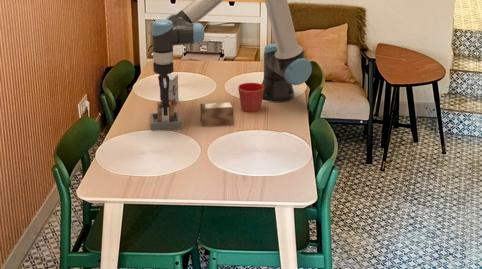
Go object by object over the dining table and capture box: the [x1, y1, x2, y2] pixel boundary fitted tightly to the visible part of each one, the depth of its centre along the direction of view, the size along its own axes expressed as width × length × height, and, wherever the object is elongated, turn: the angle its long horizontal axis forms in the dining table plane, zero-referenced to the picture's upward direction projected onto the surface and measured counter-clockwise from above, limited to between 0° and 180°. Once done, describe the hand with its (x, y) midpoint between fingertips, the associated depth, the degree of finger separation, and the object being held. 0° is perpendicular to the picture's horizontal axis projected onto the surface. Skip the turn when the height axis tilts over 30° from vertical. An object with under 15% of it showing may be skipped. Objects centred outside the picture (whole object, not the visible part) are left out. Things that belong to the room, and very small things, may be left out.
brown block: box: [156, 101, 175, 122], centre depth 264 cm, size 6×5×7 cm
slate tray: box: [149, 111, 182, 131], centre depth 266 cm, size 11×11×3 cm
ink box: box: [167, 72, 179, 106], centre depth 286 cm, size 9×5×12 cm, turn 168°
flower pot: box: [237, 82, 264, 113], centre depth 281 cm, size 11×11×10 cm
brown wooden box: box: [199, 102, 234, 127], centre depth 267 cm, size 12×6×7 cm, turn 100°
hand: (165, 119), depth 266 cm, fingers closed on brown block, 5 cm apart
